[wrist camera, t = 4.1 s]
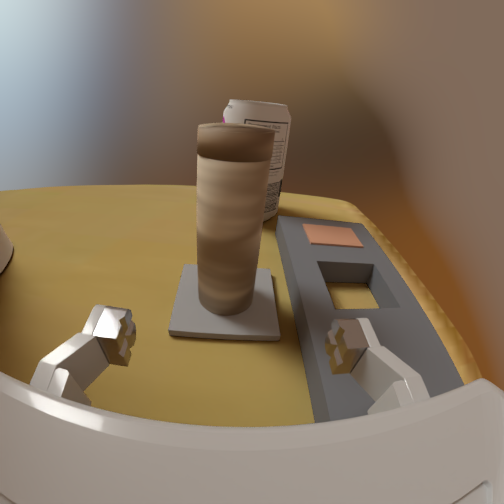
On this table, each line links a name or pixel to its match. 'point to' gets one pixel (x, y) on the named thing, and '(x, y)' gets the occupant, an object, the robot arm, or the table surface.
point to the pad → (218, 326)
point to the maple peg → (230, 212)
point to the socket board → (354, 311)
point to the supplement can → (280, 122)
